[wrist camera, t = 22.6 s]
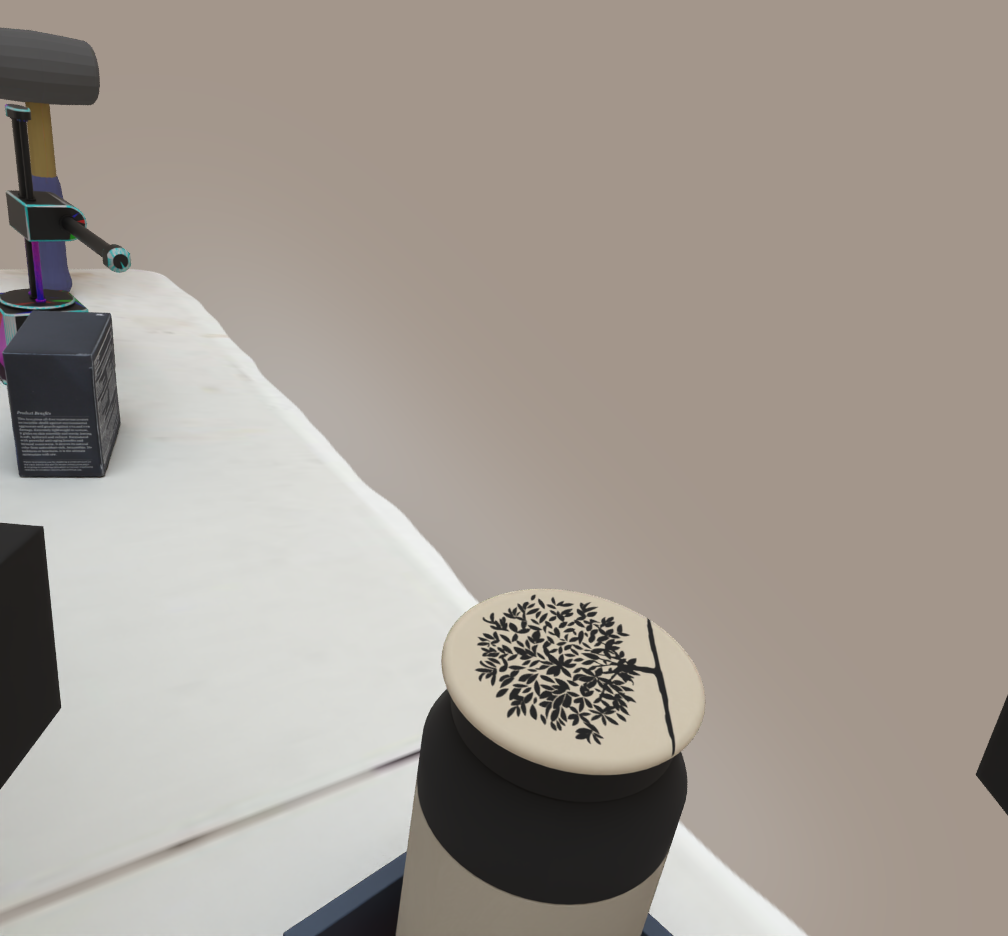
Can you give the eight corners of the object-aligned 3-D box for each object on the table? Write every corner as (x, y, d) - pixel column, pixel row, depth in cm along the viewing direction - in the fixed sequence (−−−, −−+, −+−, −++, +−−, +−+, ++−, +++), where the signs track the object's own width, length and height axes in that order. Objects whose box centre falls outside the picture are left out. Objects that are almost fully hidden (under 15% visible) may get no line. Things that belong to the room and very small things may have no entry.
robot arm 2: (-25, 345, 86) (-61, 91, 75) (69, 337, 92) (48, 100, 81) (44, 438, 70) (11, 132, 59) (153, 422, 76) (140, 140, 65)
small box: (41, 422, 72) (28, 306, 68) (122, 423, 74) (115, 311, 70) (13, 478, 64) (-4, 348, 59) (105, 478, 66) (96, 352, 61)
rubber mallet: (7, 308, 97) (-28, 23, 84) (-9, 290, 102) (-43, 19, 89) (117, 302, 105) (101, 41, 92) (98, 286, 110) (80, 35, 97)
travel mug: (351, 1128, 28) (397, 725, 20) (415, 917, 35) (468, 560, 27) (582, 1198, 27) (725, 806, 19) (600, 967, 34) (709, 614, 26)
